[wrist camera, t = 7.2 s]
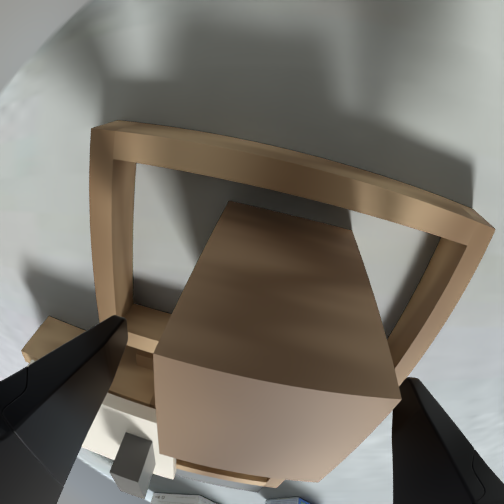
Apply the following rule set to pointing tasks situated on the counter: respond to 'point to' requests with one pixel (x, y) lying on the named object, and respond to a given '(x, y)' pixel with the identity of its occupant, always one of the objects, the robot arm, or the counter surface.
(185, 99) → the counter surface
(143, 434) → the lid
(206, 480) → the slate mat
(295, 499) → the medicine box
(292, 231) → the walnut block
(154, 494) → the supplement box
